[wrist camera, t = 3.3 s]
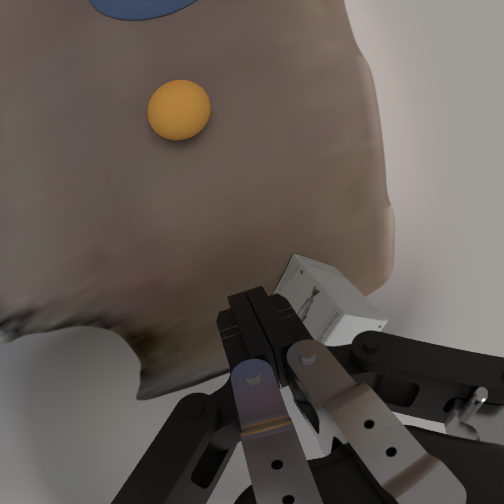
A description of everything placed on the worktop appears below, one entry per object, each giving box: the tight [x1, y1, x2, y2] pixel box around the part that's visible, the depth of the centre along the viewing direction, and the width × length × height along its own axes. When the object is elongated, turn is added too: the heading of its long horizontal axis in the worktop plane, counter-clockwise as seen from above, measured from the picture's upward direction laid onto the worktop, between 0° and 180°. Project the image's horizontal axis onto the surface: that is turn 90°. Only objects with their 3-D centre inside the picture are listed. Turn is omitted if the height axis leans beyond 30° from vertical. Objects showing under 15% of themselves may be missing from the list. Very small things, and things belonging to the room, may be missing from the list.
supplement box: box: [272, 254, 388, 346], centre depth 32 cm, size 7×7×13 cm
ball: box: [147, 80, 211, 140], centre depth 22 cm, size 6×6×6 cm
